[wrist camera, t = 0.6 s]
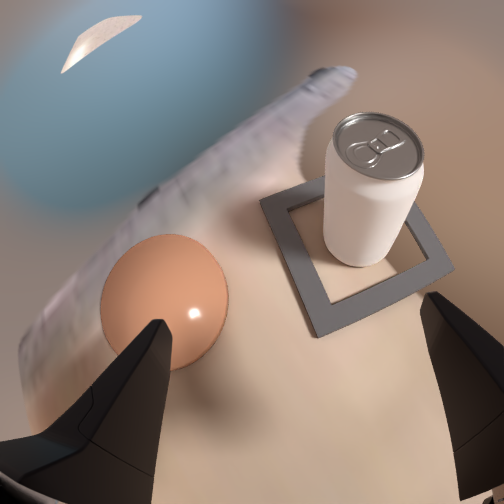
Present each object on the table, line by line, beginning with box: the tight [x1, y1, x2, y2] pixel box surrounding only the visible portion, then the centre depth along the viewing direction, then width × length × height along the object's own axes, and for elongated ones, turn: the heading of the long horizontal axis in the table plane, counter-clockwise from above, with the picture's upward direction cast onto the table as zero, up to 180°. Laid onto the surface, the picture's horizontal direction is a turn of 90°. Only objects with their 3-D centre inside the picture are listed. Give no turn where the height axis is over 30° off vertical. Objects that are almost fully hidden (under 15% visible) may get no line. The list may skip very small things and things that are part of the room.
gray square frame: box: [259, 176, 455, 338], centre depth 26 cm, size 14×14×1 cm
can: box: [323, 112, 424, 267], centre depth 21 cm, size 6×6×12 cm
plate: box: [101, 234, 229, 371], centre depth 26 cm, size 13×13×1 cm
